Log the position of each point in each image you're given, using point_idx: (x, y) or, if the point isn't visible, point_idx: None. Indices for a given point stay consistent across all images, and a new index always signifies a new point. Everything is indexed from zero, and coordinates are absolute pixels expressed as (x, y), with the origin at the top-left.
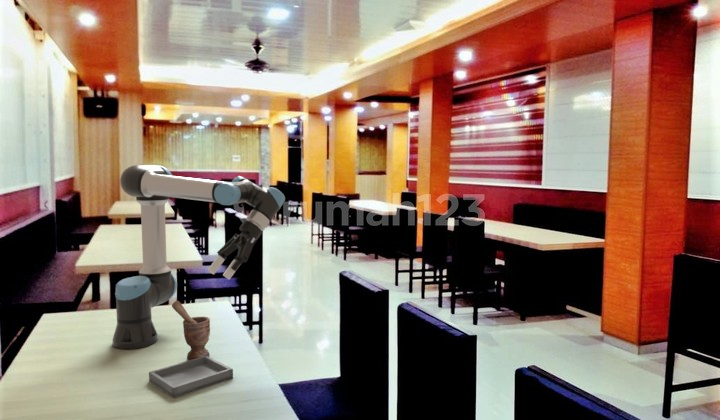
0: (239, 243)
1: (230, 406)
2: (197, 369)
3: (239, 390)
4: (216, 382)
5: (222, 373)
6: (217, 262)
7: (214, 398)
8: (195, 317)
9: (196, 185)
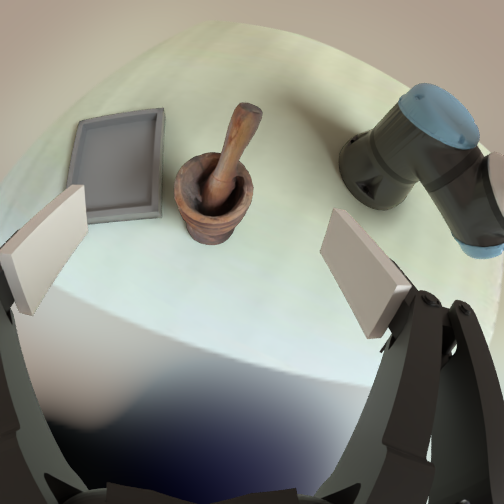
0: (15, 470)
1: (15, 182)
2: (135, 185)
3: (34, 213)
4: None
5: None
6: (360, 271)
7: (42, 173)
8: (244, 197)
9: None
